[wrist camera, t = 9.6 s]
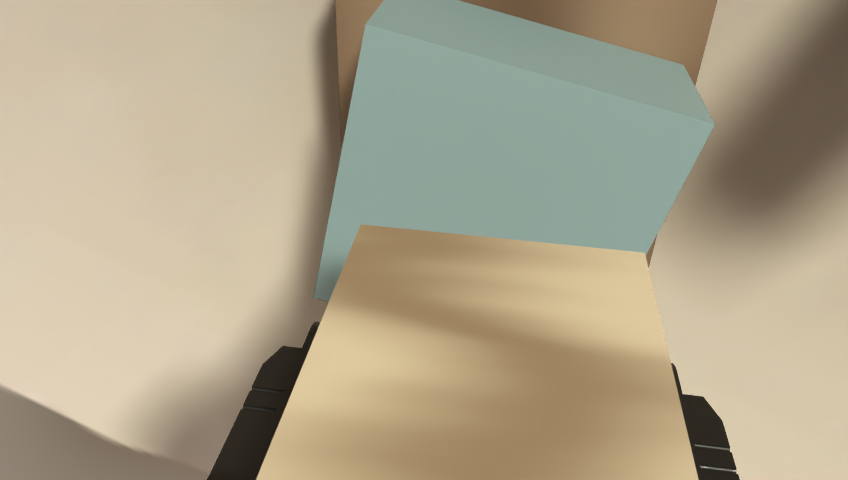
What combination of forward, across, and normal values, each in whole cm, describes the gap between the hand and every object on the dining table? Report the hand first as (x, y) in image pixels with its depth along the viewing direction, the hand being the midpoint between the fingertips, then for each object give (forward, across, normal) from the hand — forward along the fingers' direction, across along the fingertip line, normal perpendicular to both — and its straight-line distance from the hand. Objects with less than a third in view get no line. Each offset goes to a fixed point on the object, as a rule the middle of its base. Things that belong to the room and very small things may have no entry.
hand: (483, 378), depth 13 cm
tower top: (+10, 0, 0) cm, 10 cm away
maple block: (+1, 0, 0) cm, 1 cm away
